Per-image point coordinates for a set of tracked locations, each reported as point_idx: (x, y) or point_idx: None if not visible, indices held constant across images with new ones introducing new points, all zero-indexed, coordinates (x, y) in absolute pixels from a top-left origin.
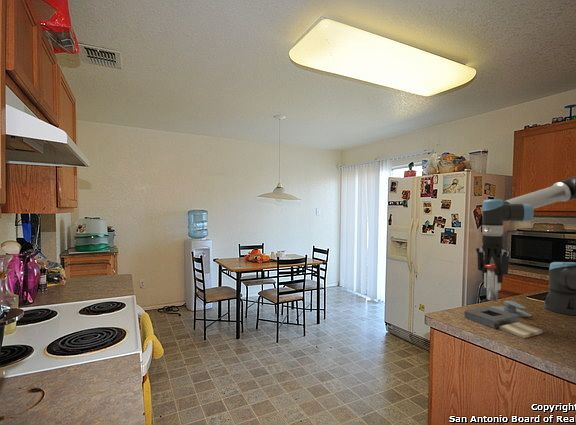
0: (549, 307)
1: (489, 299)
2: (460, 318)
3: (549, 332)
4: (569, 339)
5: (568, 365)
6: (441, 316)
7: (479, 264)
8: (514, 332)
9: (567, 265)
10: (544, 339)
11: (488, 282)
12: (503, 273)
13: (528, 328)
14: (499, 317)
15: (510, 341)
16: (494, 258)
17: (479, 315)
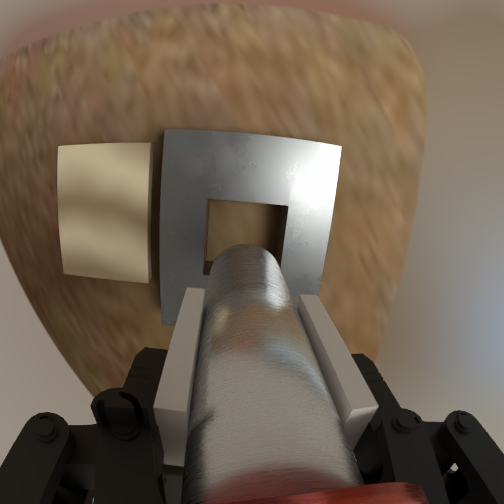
0: None
1: (246, 245)
2: (332, 117)
3: (69, 296)
4: (23, 284)
5: None
6: (387, 73)
7: (494, 476)
8: (90, 144)
9: None
10: (37, 208)
11: (273, 315)
12: (34, 428)
13: (87, 240)
14: (182, 211)
15: (76, 67)
16: None
17: (254, 140)
